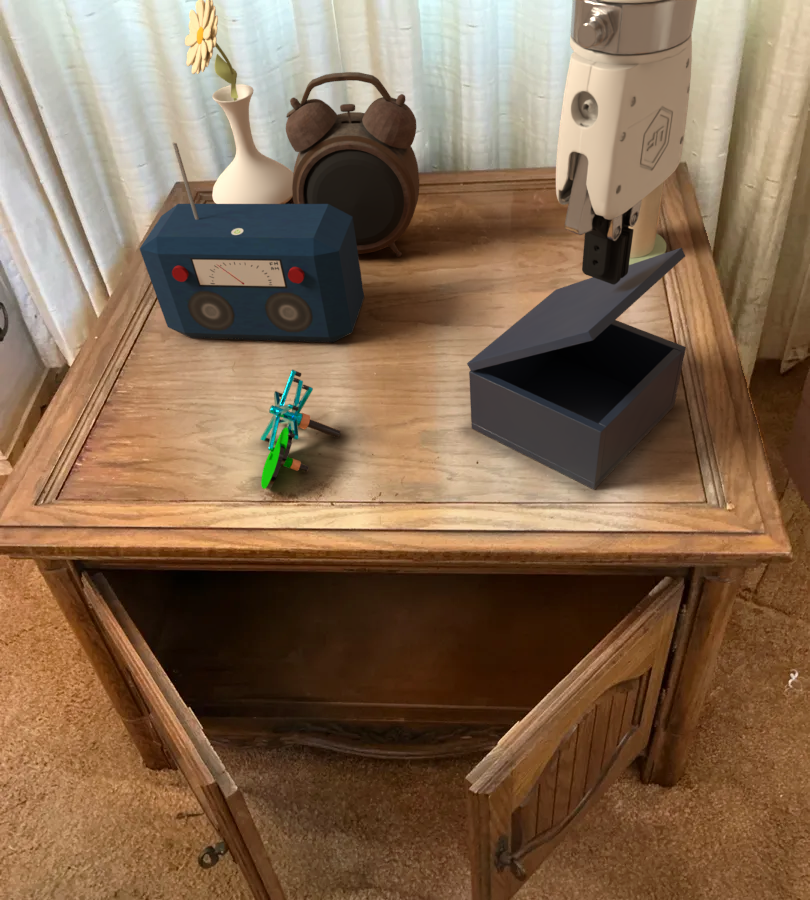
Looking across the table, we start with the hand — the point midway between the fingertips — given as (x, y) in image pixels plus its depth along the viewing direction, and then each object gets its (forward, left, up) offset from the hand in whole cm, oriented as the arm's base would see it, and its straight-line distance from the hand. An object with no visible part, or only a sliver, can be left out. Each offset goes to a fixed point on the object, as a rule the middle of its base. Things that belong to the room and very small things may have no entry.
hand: (604, 274), depth 67 cm
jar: (-3, -30, -16) cm, 34 cm away
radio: (+36, -14, -16) cm, 42 cm away
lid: (+2, -1, -5) cm, 5 cm away
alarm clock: (+28, -29, -16) cm, 43 cm away
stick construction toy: (+26, +6, -16) cm, 32 cm away
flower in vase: (+45, -40, -16) cm, 62 cm away
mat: (-3, -30, -16) cm, 35 cm away
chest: (+2, -1, -16) cm, 16 cm away
